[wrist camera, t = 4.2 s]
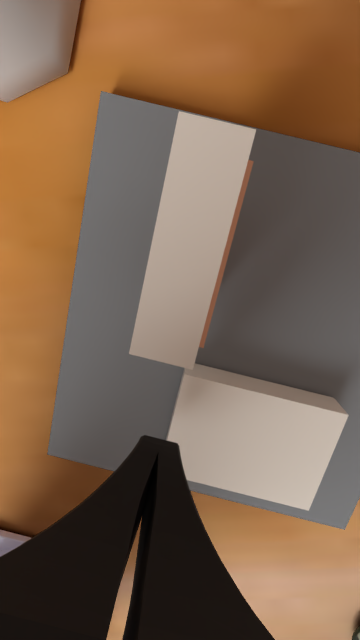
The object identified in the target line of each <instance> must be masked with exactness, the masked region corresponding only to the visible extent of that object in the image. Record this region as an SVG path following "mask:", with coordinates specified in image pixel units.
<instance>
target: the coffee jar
mask: <svg viewBox="0 0 360 640" xmlns="http://www.w3.org/2000/svg"><path fill="white" fill-rule="evenodd" d="M352 640H360V626H359V627H358V628H357V629H356V631H355V632H354V633H353V636H352Z"/></svg>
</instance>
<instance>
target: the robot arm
mask: <svg viewBox="0 0 360 640" xmlns="http://www.w3.org/2000/svg"><path fill="white" fill-rule="evenodd" d="M141 517H142V522H141V529H140V536H139V544H138V551H137V559H136V567H135V574H134V582H133V589H132V595H131V601H130V606H129V611H128V616H127V621H126V626H125V630H124V635H123V640H275V639H274V638H273V637H272V635H271V634H270V633H269V631H268V630H267V629H266V628H265V626H264V625H263V624H262V622H261V621H260V620H259V618H258V617H257V616H256V615H255V613H254V612H253V610H252V609H251V607H250V606H249V604H248V603H247V602H246V600H245V599H244V597H243V596H242V594H241V593H240V591H239V589H238V588H237V586H236V584H235V583H234V581H233V579H232V578H231V576H230V574H229V573H228V571H227V569H226V568H225V566H224V564H223V563H222V561H221V559H220V557H219V556H218V554H217V552H216V550H215V548H214V546H213V544H212V542H211V540H210V538H209V536H208V534H207V532H206V530H205V528H204V525H203V523H202V521H201V518H200V516H199V514H198V511H197V508H196V506H195V503H194V501H193V498H192V495H191V492H190V489H189V486H188V483H187V479H186V476H185V472H184V469H183V465H182V460H181V455H180V448H179V445H178V443H175V442H171V441H167V440H163V439H159V438H155V437H151V436H147V435H143V436H141V437H140V439H139V441H138V443H137V444H136V446H135V447H134V449H133V450H132V451H131V453H130V454H129V455H128V457H127V458H126V459H125V460H124V461H123V462H122V464H121V465H120V466H119V467H118V468H117V469H116V470H115V472H114V473H113V474H112V475H111V476H110V477H109V478H108V479H107V480H106V481H105V482H104V483H103V484H102V485H101V486H100V487H99V488H98V489H96V490H95V491H94V492H93V493H92V494H91V495H90V496H89V497H88V498H86V499H85V500H84V501H83V502H82V503H80V504H79V505H78V506H77V507H75V508H74V509H73V510H72V511H70V512H69V513H68V514H66V515H65V516H64V517H62V518H61V519H60V520H58V521H57V522H55V523H54V524H53V525H51V526H50V527H48V528H47V529H45V530H44V531H42V532H40V533H39V534H37V535H36V536H34V537H33V538H31V537H27V536H23V535H19V534H15V533H11V532H8V531H4V530H0V640H106V638H107V634H108V630H109V625H110V621H111V617H112V613H113V609H114V605H115V601H116V597H117V593H118V589H119V586H120V583H121V579H122V576H123V573H124V570H125V567H126V564H127V561H128V558H129V555H130V552H131V549H132V545H133V542H134V539H135V536H136V533H137V530H138V527H139V524H140V521H141Z"/></svg>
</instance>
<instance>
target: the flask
mask: <svg viewBox="0 0 360 640" xmlns="http://www.w3.org/2000/svg"><path fill="white" fill-rule="evenodd" d="M80 3H81V0H0V100H1V101H4V102H9V101H11V100H13V99H15V98H18V97H20V96H22V95H24V94H26V93H28V92H30V91H32V90H34V89H36V88H38V87H40V86H42V85H44V84H46V83H48V82H50V81H52V80H55V79H57V78H59V77H61V76H63V75H65V74H67V73H68V69H69V64H70V58H71V53H72V47H73V42H74V36H75V31H76V25H77V20H78V14H79V8H80Z"/></svg>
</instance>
